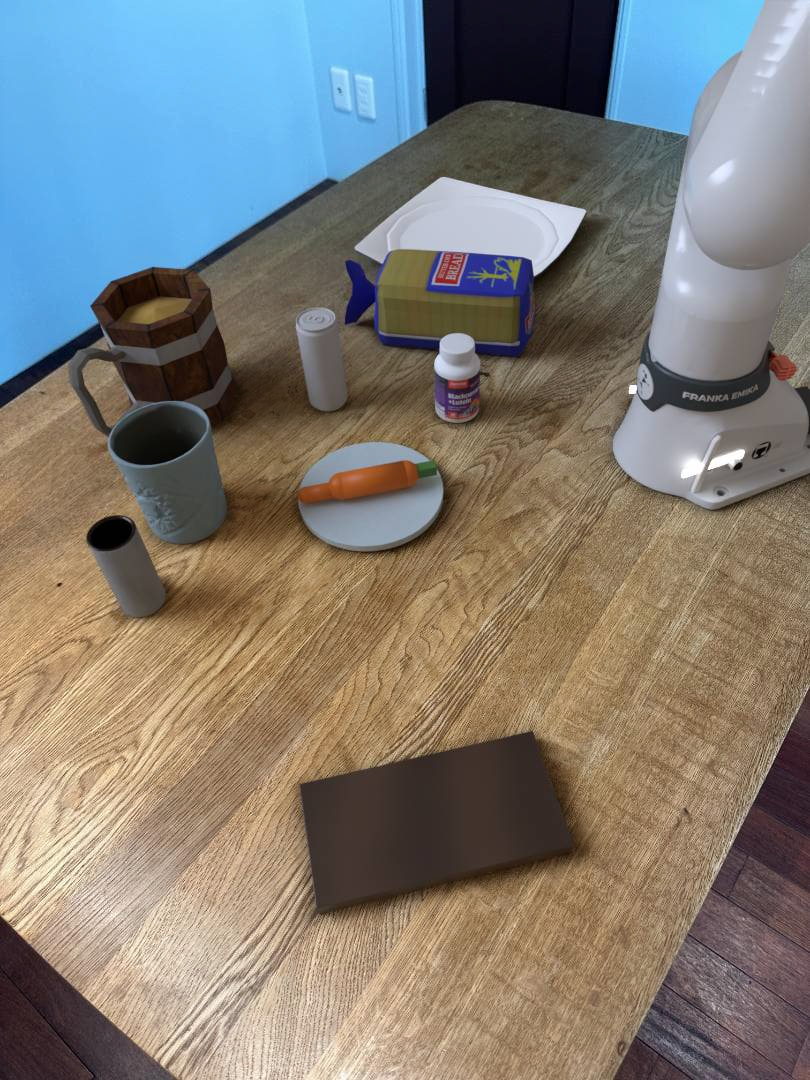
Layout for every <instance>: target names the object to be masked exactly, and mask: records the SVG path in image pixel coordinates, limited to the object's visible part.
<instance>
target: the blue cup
mask: <svg viewBox="0 0 810 1080" xmlns="http://www.w3.org/2000/svg"><path fill="white" fill-rule="evenodd" d="M116 423H117V422H116ZM116 423H115V424H116ZM214 444H215V442H214V437H213V432H212V425H211V424H210V420H209V418H208V416H207V415H206V414H205V412H204V411H203V410H202V409H200V408H199V407H197V406H195V405H193V404H190V403H186V402H180V401H164V402H158V403H153V404H150V405H146V406H143V407H141V408H139V409H137V410H135V411H133V412H131V413H130V414H128V415H127V416H126V417H124V418H123V419H122V420H121V421H120V422H118V423H117V424H116V426H115V427H114V428H113V430H112V431H111V433H110V435H109V437H108V439H107V449H108V452H109V454H110V457H112V460H113V462H114V463H115V465H116V466H117V467H118V470H119V472H120V474H122V475H123V476H124V481H125V482H126V485H127V486H128V488H129V491H130V492H131V493H132V495H133V497H134V498H135V499H136V503H137V505H138V506H139V508H140V510H141V512H142V514H143V515H144V518H145V520H146V522H147V524H148V526H149V527H150V530H151V531H152V532H153V534H154V535H155V536H156V537H157V538H159V540H162V541H163V542H166V543H169V544H173V545H174V544H175V545H187V544H188V545H189V544H194V543H196V542H199V541H202V540H205V539H207V538H208V537H210V536H211V535H213V534H214V533H215V532H216V531H218V530H219V529H220V527H222V525H223V524H224V522H225V520H226V516H227V513H228V503H227V498H226V495H225V491H224V490H223V482H222V481H223V480H222V475H221V473H220V466H219V464H218V457H217V454H216V448H215V445H214Z"/></svg>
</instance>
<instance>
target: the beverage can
mask: <svg viewBox="0 0 810 1080" xmlns="http://www.w3.org/2000/svg"><path fill="white" fill-rule="evenodd" d="M295 329H296V335H297V336H296V337H297V340H298V341H297V342H298V346H299V352H300V357H301V363H302V367H303V368H302V369H303V374H304V380H305V385H306V390H307V396H308V401H309V403H310V405H311V406H312V407H313V408H315V409H317V410H318V411H321V412H325V413H330V412H334V411H337V410H340V409H341V408H342V407H343V406H344V405H345V404H346V402H347V401H348V396H349V395H348V389H347V381H346V373H345V367H344V359H343V352H342V344H341V337H340V330H339V323H338V319H337V316H336V313H335V312H334V311H333V310H332V309H329V308H326V307H311V308H308V309H304V310H303V311H301V312H300V313H299V314H298V315H297V316H296V319H295Z"/></svg>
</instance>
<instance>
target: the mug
mask: <svg viewBox="0 0 810 1080" xmlns="http://www.w3.org/2000/svg"><path fill="white" fill-rule="evenodd" d="M212 299H213V298H212V291H211V288H210V287H209V286H208V285H207V284H206V282H205V281H204V280H203V279H202V277H200V276H199V274H198V273H196V271H195V270H194V269H187V268H174V267H159V266H150V267H148V268H145V269H142V270H139V271H136V272H134V273H133V272H132V273H130V274H128V275H126V276H123V277H119V278H116V279H113V280H111V281H110V282H109V283H108V284H107V285H106V286H105V287H104V289H103V290H102V291H101V292H100V293H99V295H98V296H97V297H96V298H95V300H94V301H93V302H92V303H91V304H90V306H89V307H90V309H91V311H92V312H93V314H94V317H95V318H96V320H97V321H98V323H99V325H100V328H101V330H102V333H103V336H104V338H105V341H106V344H107V350H104V349H101V348H97V347H93V346H91V347H86V348H81V349H77V351H76V352H75V354H74V355H73V357H72V358H71V360H70V361H69V362H68V364H67V367H68V368H67V369H68V377H69V378H68V379H69V384H70V386H71V387H72V389H73V391H74V393H75V394H76V396H77V397H78V399H79V400H80V402H81V404H82V406H83V409H84V411H85V413H86V415H87V417H88V419H89V420H90V422H91V424H92V426H93V427H94V428H95V429H96V430H97V431H99V432H100V433H102V434H103V435H105V436H106V437H108V438H109V435H110V433H111V431H112V430H113V428H114V427H115V426H116V424H117V423H118V422H120V421H121V420H122V419H123V418H124V417H126V416H127V415H128V414H130V413H131V412H133V411H135V410H137V409H139V408H141V407H143V406H146V405H150V404H153V403H158V402H164V401H180V402H186V403H190V404H193V405H195V406H197V407H199V408H200V409H202V410H203V411H204V412H205V414H206V415H207V416H208V418H209V420H210V424H211V426H213V425H215V424H218V423H220V422H222V421H224V420H225V419H226V417H227V415H228V413H229V412H230V410H231V408H232V406H233V404H234V402H235V400H236V399H237V397H238V395H239V392H238V390H237V387H236V385H235V383H234V380H233V378H232V374H231V370H230V367H229V362H228V356H227V350H226V344H225V341H224V339H223V336H222V334H221V333H222V332H221V331H220V328H219V326H218V323H217V318H216V315H215V312H214V306H213V300H212ZM92 360H93V361H94V360H100V361H103V362H108V363H113V365H114V367H115V369H116V372H117V373H118V375H119V377H120V378H121V380H122V383H123V386H124V388H125V391H126V393H127V397H128V401H129V406H130V407H129V408H127V410H126V411H125V412H124V413H123V414H122V415H121V416H120V418H119V419H118V420H117V421H116V422H115V424H114V425H110V426H108V425H107V423H106V421H105V419H104V417H103V415H102V413H101V411H100V409H99V406H98V404H97V401H96V400H95V398H94V397H93V395H92V394H91V392H90V391H89V389H88V388H87V386H86V384H85V378H84V375H83V370H84V369H85V367H86V366H87V364H88V363H89V362H90V361H92Z"/></svg>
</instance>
